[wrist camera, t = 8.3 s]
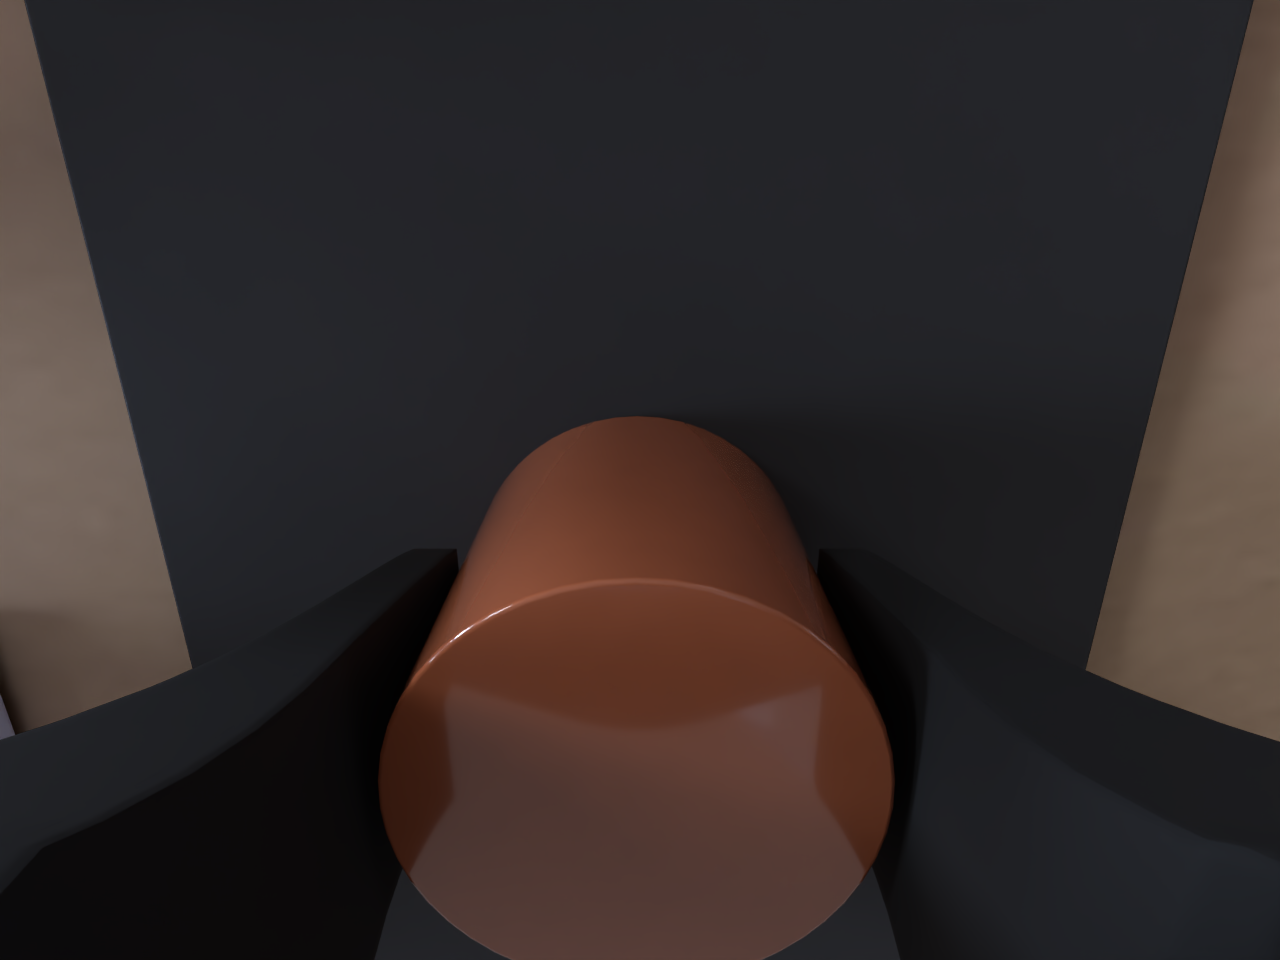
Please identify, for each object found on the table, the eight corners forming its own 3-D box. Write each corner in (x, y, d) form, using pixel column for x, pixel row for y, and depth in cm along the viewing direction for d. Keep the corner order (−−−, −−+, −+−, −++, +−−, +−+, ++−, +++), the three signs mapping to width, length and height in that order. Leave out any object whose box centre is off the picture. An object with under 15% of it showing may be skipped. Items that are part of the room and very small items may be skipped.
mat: (283, 982, 16) (275, 1000, 16) (-9, -219, 9) (-39, -237, 8) (995, 981, 16) (1003, 1000, 16) (1286, -217, 9) (1315, -237, 8)
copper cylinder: (490, 698, 13) (405, 988, 8) (466, 415, 11) (341, 579, 6) (784, 698, 13) (867, 988, 8) (808, 415, 11) (930, 579, 6)
